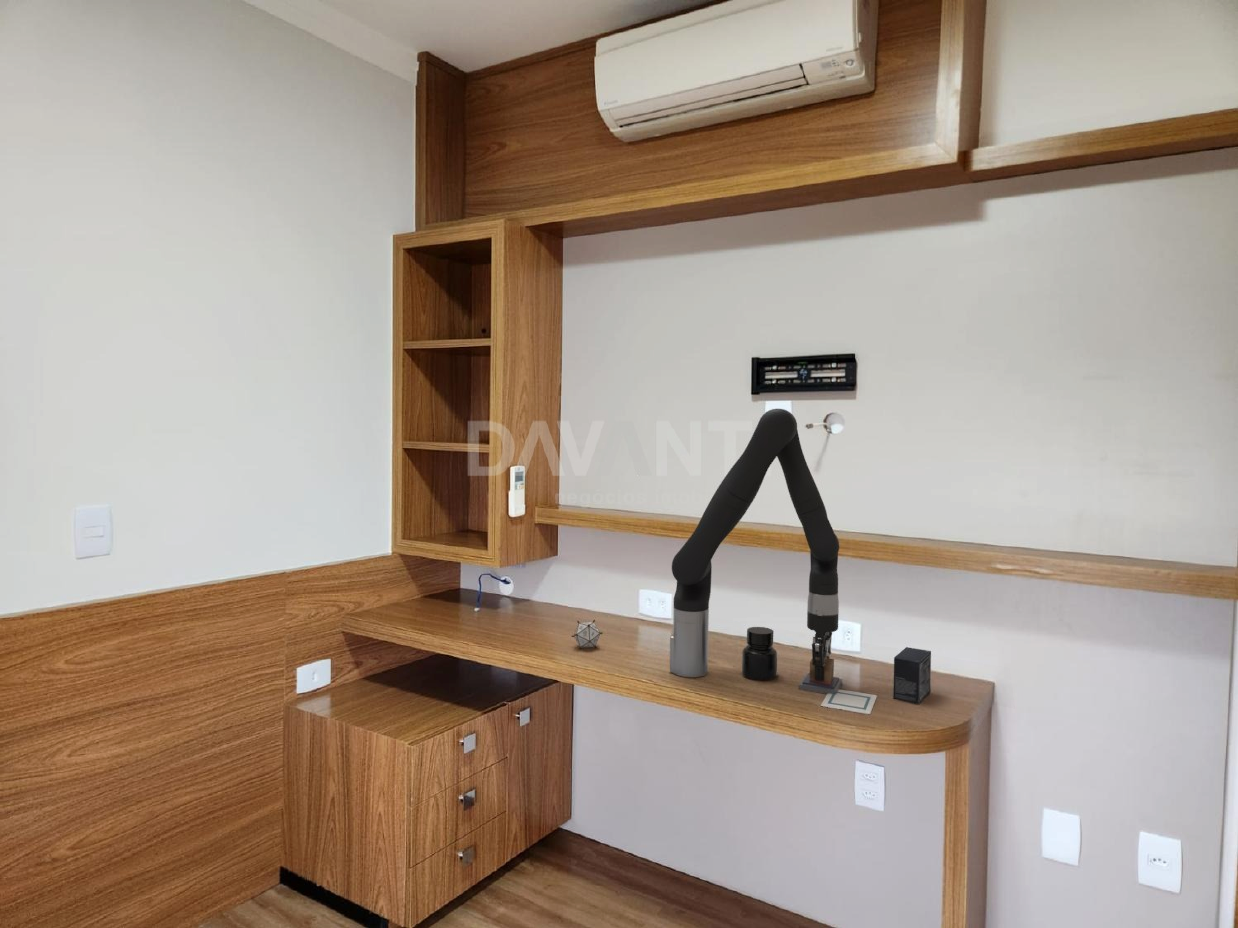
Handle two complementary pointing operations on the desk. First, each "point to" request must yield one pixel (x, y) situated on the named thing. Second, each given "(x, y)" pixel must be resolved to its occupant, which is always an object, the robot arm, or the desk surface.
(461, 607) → the desk surface
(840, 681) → the ink pad
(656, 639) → the desk surface
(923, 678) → the small box
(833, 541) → the robot arm
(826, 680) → the stamp
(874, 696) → the sheet
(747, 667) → the ink bottle
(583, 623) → the game die
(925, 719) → the desk surface
